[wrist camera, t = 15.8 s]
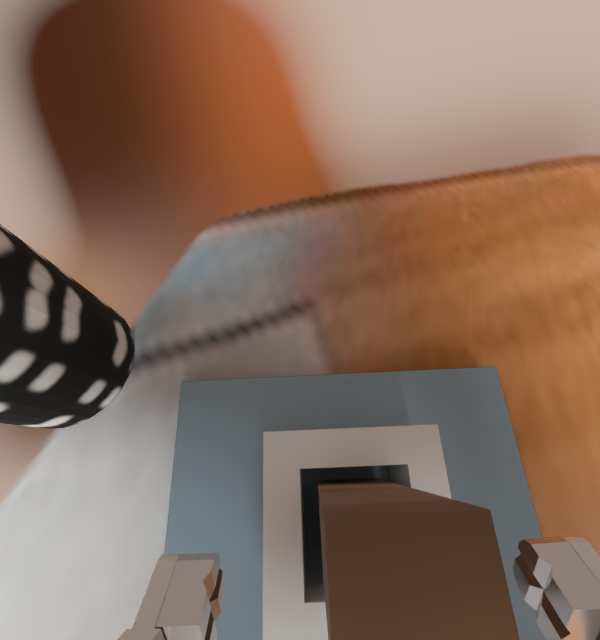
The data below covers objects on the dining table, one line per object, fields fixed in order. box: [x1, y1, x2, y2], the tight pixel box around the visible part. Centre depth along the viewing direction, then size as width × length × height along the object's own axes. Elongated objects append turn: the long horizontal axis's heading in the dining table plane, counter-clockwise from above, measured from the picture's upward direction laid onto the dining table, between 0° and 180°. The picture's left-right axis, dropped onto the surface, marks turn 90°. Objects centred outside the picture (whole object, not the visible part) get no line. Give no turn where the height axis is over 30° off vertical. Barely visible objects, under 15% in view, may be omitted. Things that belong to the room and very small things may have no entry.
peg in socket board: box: [165, 367, 546, 640], centre depth 15 cm, size 14×18×6 cm
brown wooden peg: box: [317, 478, 520, 640], centre depth 11 cm, size 3×3×12 cm
